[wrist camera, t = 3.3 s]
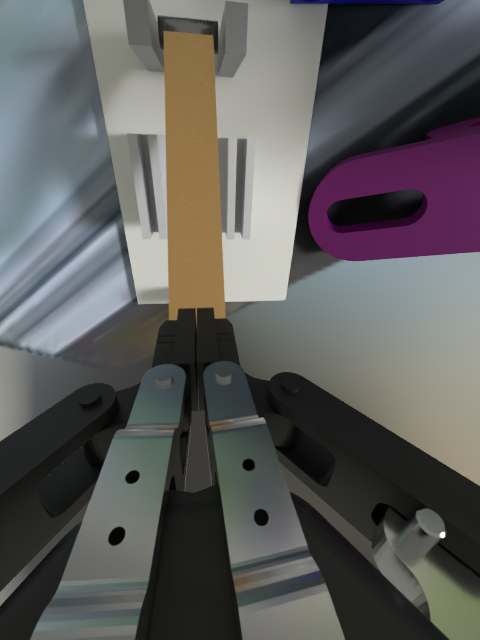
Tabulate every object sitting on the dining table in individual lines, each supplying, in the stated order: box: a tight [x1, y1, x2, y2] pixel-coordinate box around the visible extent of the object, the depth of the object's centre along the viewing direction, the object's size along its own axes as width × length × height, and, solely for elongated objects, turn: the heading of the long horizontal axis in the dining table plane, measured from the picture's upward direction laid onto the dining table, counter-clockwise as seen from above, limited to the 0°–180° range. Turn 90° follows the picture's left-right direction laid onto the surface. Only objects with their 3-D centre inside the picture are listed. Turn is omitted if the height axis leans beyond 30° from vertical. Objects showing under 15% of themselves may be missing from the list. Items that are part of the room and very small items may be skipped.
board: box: [83, 0, 328, 304], centre depth 23 cm, size 17×26×8 cm, turn 178°
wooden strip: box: [157, 15, 226, 325], centre depth 16 cm, size 19×3×1 cm
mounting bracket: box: [308, 117, 480, 261], centre depth 28 cm, size 10×8×18 cm
